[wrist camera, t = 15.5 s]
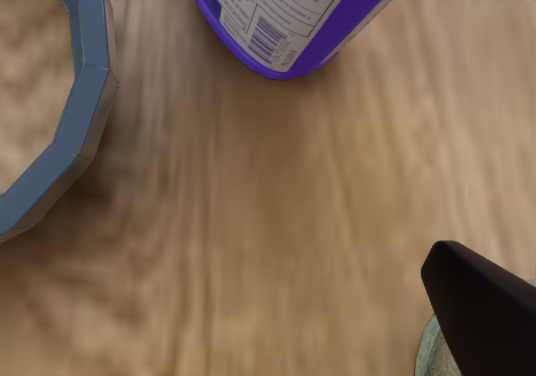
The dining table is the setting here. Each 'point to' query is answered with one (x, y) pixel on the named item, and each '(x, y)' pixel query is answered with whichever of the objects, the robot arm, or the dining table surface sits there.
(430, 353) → the vessel
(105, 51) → the bowl
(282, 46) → the bottle
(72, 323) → the dining table surface
